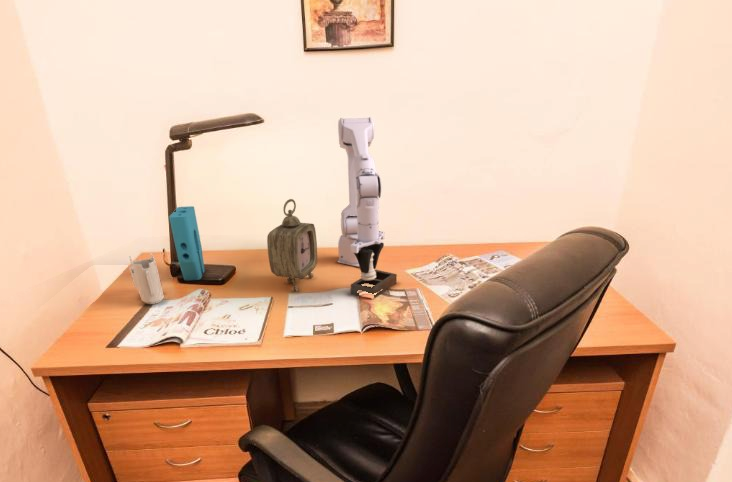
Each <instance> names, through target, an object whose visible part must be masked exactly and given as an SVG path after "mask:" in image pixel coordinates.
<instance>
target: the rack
mask: <svg viewBox="0 0 732 482" xmlns="http://www.w3.org/2000/svg"><path fill="white" fill-rule="evenodd" d="M374 271H375V272H376V278H375V279H374V280H371V281H366V280H363V279H362V278H361V277H360V278H359V279H356V281H354V282H352V283H351V284H350V295H351V296H352V295H353V296H355V297H356V296H357V297H360V296H359V293H357V291H358V290H362V291H366V292H368V293H372V294H374V293H376V292H378V291H380V290H381V289H383V290H382V291H380V292H379V293H377V294H376V295H374V297H375V299H376V298H378V297H379V296H380V295H382V294H383V293H384V292H387V291H388V290H390V289H391V288H392V287H393V286H395V285H396V284H397V276H398V275H397V273H393V272H389V271H385V270H379V269H374ZM364 283H369V284H373V285H375V286H373V287H372V288H371V287H367V286H362V285H361V284H364Z"/></svg>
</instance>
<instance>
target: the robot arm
mask: <svg viewBox="0 0 732 482" xmlns="http://www.w3.org/2000/svg"><path fill="white" fill-rule="evenodd" d="M337 130H338V131H337V132H338V133H337V134H338V144H339V148H341V149H344V150H345V152H346V155H347V175H348V177H347V178H348V179H347V180H348V205H347V206H346V207H345V208H343V209H342V210H341V213H340V231H341V235H340V236H339V239H338V244H337V246H338V247H337V248H338V260H337V263H339V264H343V265H348V266H352V267H357V268H359V269H360V273H361V272H363V273H368V272H369V266H370V258H371V255H372V253H374V256H373V268H374V270H376V268H377V266H378V265H377V264H378V262H379V257H380V254H381V252H382V251H383V248H384V246H385V245H384V244H385V243H384V242H383V240H384V239H385V238H386V235H385V231H381V230H379V229H380V228H379V227H380V225H379V221H380V220H379V219H380V217H379V216H380V210H379V208H380V198H381V196H382V195H381V194H382V181H381V176H380V174H379V173H378V172H377V170H376V165H375V160H374V157H373V156H372V155H371V154H369V148H370V147H371V144H372V142H373V140H374V137H375V121H374V119H373V118H372V117H371V116H369V117H353V118H352V117H351V118H350V117H349V118H343V117H340V118H339V119H338V123H337Z"/></svg>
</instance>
